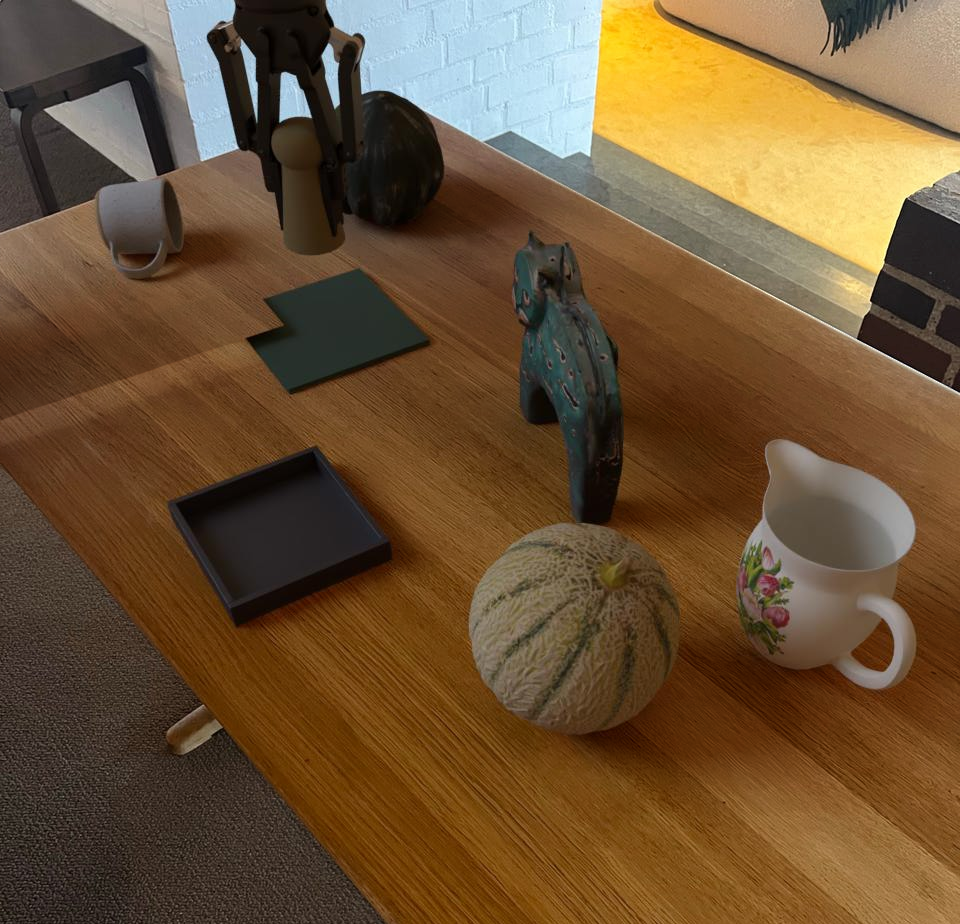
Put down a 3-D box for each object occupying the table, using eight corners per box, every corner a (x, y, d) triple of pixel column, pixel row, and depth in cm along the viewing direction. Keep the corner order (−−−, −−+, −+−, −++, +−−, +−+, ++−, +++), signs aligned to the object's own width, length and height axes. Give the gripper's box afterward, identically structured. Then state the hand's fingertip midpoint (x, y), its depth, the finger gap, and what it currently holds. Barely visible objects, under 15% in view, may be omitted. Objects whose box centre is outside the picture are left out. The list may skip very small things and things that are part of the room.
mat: (227, 315, 106) (225, 310, 106) (359, 272, 112) (359, 267, 111) (289, 394, 98) (288, 389, 97) (430, 344, 103) (429, 339, 103)
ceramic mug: (116, 233, 117) (96, 169, 111) (186, 229, 117) (170, 165, 111) (103, 284, 110) (81, 219, 104) (177, 280, 111) (159, 215, 105)
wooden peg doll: (299, 262, 94) (281, 144, 86) (273, 234, 97) (252, 118, 89) (356, 244, 96) (343, 127, 88) (328, 217, 99) (313, 102, 91)
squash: (350, 119, 123) (312, 53, 109) (465, 139, 121) (442, 74, 106) (326, 233, 124) (284, 184, 110) (440, 255, 122) (413, 207, 108)
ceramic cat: (503, 397, 97) (507, 199, 82) (566, 387, 98) (582, 189, 83) (564, 537, 85) (582, 336, 70) (635, 523, 86) (668, 323, 71)
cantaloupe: (464, 620, 80) (460, 480, 68) (645, 609, 80) (672, 469, 68) (477, 780, 70) (476, 649, 59) (682, 766, 71) (720, 634, 59)
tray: (172, 520, 87) (166, 501, 85) (319, 464, 91) (316, 444, 90) (235, 627, 79) (230, 608, 77) (392, 559, 84) (390, 540, 82)
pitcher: (810, 758, 71) (867, 639, 61) (679, 588, 82) (709, 460, 71) (931, 707, 74) (1007, 584, 63) (790, 548, 84) (835, 419, 74)
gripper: (390, -66, 79) (408, 217, 97) (190, -81, 81) (244, 197, 99) (360, -33, 74) (385, 257, 92) (150, -50, 77) (215, 236, 95)
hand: (312, 226), depth 96 cm, fingers closed on wooden peg doll, 4 cm apart
